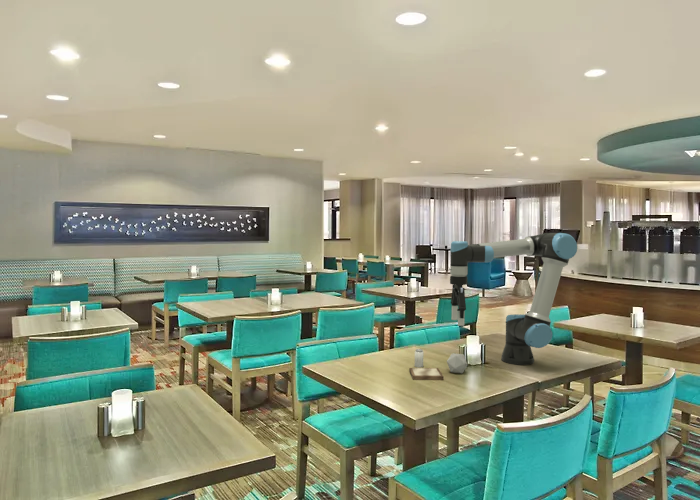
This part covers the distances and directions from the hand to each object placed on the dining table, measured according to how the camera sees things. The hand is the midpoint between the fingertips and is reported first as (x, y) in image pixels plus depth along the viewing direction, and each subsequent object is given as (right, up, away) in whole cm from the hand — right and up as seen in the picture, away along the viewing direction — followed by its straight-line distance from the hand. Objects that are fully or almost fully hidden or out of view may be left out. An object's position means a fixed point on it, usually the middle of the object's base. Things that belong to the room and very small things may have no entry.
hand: (457, 322), depth 227 cm
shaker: (-16, -22, +10) cm, 29 cm away
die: (0, -23, +1) cm, 23 cm away
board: (-15, -22, -5) cm, 27 cm away
